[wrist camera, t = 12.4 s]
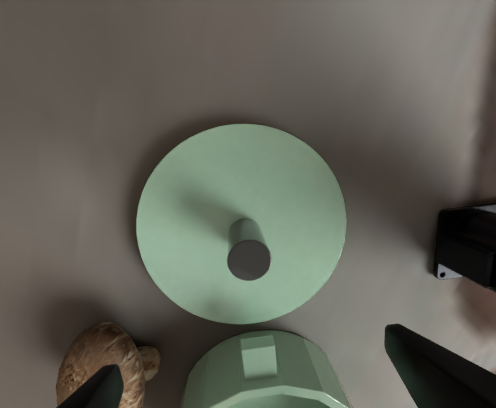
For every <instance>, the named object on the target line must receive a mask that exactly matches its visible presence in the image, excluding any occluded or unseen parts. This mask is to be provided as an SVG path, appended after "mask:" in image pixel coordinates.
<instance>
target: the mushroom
mask: <svg viewBox="0 0 496 408" xmlns="http://www.w3.org/2000/svg"><path fill="white" fill-rule="evenodd" d="M110 364H118V365H119V368H120V371H121V375H122V379H123V382H124V390H123V394H122V397H121V401H120V404H119V408H141V407H142V405H143V402H144V396H145V382H148V381H149V380H150V379H152V378H153V377H154V376H155V375H156V373H157V372H158V371H159V367H160V354H159V352H158V350H157V349H156V348H154V347H152V346H144V347H139V348H136V346H135V344H134V342H133V340H132V338H131V337H130V336H129V335H128V334H127V333H126V332H125V330H124V329H123V328H122V327H121V326H119V325H117V324H115V323H113V322H109V321H104V322H100V323H98V324H95V325H92V326H91V327H89V328H87V329H85V330H84V331H83V332H82V333H81V334H80V335H79V336H78V337H77V338H76V339H75V340H74V342H73V343H72V345H71V346H70V348H69V349H68V351H67V353H66V355H65V357H64V359H63V361H62V364H61V366H60V368H59V373H58V378H57V384H56V394H57V404H58V406H59V405H60V404H61V403H62V402H63V401H64V400H65V399H67V398H68V397H69V396H70V395H71V394H72V393H73V392H74V391H76V390H77V389H78V388H79V387H80V386H81V385H82V384H83V383H84V382H86V381H87V380H88V379H89V378H90V377H91V376H92V375H93V374H95V373H96V372H97V371H98V370H99V369H100V368H101V367H103V366H105V365H110Z"/></svg>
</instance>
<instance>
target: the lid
mask: <svg viewBox="0 0 496 408" xmlns="http://www.w3.org/2000/svg"><path fill="white" fill-rule="evenodd" d="M346 223H347V221H346V208H345V203H344V199H343V195H342V192H341V189H340V186H339V184H338V182H337V180H336V178H335V176H334V174H333V172H332V171H331V169H330V168H329V166H328V165H327V164H326V162H325V161H324V160H323V159H322V158H321V157H320V156H319V154H318V153H317V152H316V151H315V150H313V149H312V148H311V147H310V146H308V145H307V144H306V143H305V142H303V141H301V140H300V139H298V138H296V137H295V136H293V135H291V134H289V133H286V132H284V131H281V130H279V129H276V128H272V127H268V126H264V125H256V124H230V125H224V126H218V127H215V128H211V129H208V130H205V131H202V132H200V133H198V134H196V135H194V136H192V137H189V138H188V139H186V140H185V141H183V142H182V143H180V144H179V145H177V146H176V147H175V148H174V149H173V150H171V151H170V152H169V153H168V154H167V155H166V156H165V157H164V158H163V159H162V160H161V161H160V163H159V164H158V165H157V166H156V167H155V169H154V171H153V172H152V174H151V175H150V177H149V178H148V180H147V182H146V185H145V187H144V189H143V191H142V194H141V198H140V201H139V204H138V210H137V217H136V235H137V242H138V248H139V251H140V254H141V258H142V260H143V263H144V265H145V267H146V269H147V271H148V273H149V275H150V276H151V278H152V279H153V281H154V283H155V284H156V285H157V286H158V287H159V289H160V290H161V291H162V292H163V293H164V294H165V295H166V296H167V297H168V298H169V299H170V300H171V301H173V302H174V303H176V304H177V305H178V306H180V307H181V308H183V309H184V310H186V311H188V312H190V313H192V314H194V315H196V316H199V317H201V318H204V319H207V320H211V321H215V322H219V323H226V324H252V323H259V322H264V321H268V320H271V319H274V318H277V317H280V316H282V315H284V314H287V313H289V312H291V311H293V310H294V309H296V308H298V307H299V306H301V305H302V304H304V303H305V302H306V301H308V300H309V299H310V298H311V297H312V296H313V295H314V294H315V293H317V292H318V291H319V290H320V288H321V287H322V286H323V285H324V284H325V282H326V281H327V280H328V278H329V277H330V275H331V274H332V272H333V271H334V269H335V267H336V264H337V262H338V260H339V258H340V255H341V252H342V249H343V246H344V241H345V236H346Z"/></svg>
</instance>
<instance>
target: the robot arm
mask: <svg viewBox="0 0 496 408" xmlns="http://www.w3.org/2000/svg"><path fill="white" fill-rule="evenodd" d="M446 215H447V216H446ZM433 274H434V276H435V277H436V278H438V279H440V280H444V279H452V278H459V277H465V278H467V279H469V280H470V281H472V282H474V283H476V284H478V285H480V286H482V287H484V288H488V289H490V290H492V291H494V292H496V203H493V204H484V205H476V206H467V207H459V208H450V209H444V210H442V211H441V212H440V214H439V220H438V231H437V241H436V252H435V262H434V272H433ZM385 349H386V352H387V354H388V356H389V358H390V359H391V361H392V363H393V365H394V366H395V368H396V370H397V372H398V374H399V375H400V377H401V379H402V381H403V382H404V384H405V386H406V388H407V390H408V391H409V393H410V395H411V397H412V398H413V400H414V402H415V403H416V405H417V407H418V408H496V375H495V374H493V373H491V372H489V371H487V370H485V369H483V368H482V367H480V366H478V365H476V364H474V363H472V362H470V361H468V360H466V359H465V358H463V357H461V356H459V355H457V354H455V353H453V352H451V351H449V350H448V349H446V348H444V347H442V346H440V345H438V344H436V343H434V342H432V341H430V340H429V339H427V338H425V337H423V336H421V335H419V334H417V333H415V332H413V331H412V330H410V329H408V328H406V327H404V326H402V325H400V324H391V325H387V326H386V327H385ZM123 390H124V382H123V379H122V375H121V371H120V368H119V365H118V364H110V365H105V366H103V367H101V368H100V369H99V370H98V371H97V372H96V373H95V374H93V375H92V376H91V377H90V378H89V379H88V380H87V381H86V382H84V383H83V384H82V385H81V386H80V387H79V388H78V389H77V390H76V391H74V392H73V393H72V394H71V395H70V396H69V397H68V398H67V399H65V400H64V401H63V402H62V403H61V404H60V405H59V406H58V407H56V408H119V404H120V401H121V397H122V394H123Z"/></svg>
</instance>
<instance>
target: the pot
mask: <svg viewBox="0 0 496 408" xmlns="http://www.w3.org/2000/svg"><path fill="white" fill-rule="evenodd" d="M180 408H353V406H352V404H351V402H350V400H349V398H348V396H347V394H346V392H345V390H344V388H343V386H342V384H341V381H340V379H339V377H338V375H337V373H336V372H335V370H334V368H333V366H332V364H331V362H330V361H329V359H328V357H327V355H326V354H325V353H324V352H323V351H322V350H321V349H320V348H318V347H317V346H316V345H315V344H313V343H312V342H310V341H309V340H307V339H305V338H303V337H301V336H298V335H296V334H292V333H288V332H283V331H276V330H262V331H253V332H248V333H243V334H240V335H237V336H234V337H231V338H229V339H227V340H225V341H223V342H221V343H219V344H218V345H216V346H214V347H213V348H212V349H211V350H209V351H208V352H207V353H206V354H205V355H204V356H203V357H202V358H201V359H200V360H199V361H198V362H197V363H196V365H195V366H194V367H193V369H192V371H191V372H190V373H189V376H188V379H187V382H186V385H185V389H184V392H183V396H182V399H181V404H180Z"/></svg>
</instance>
